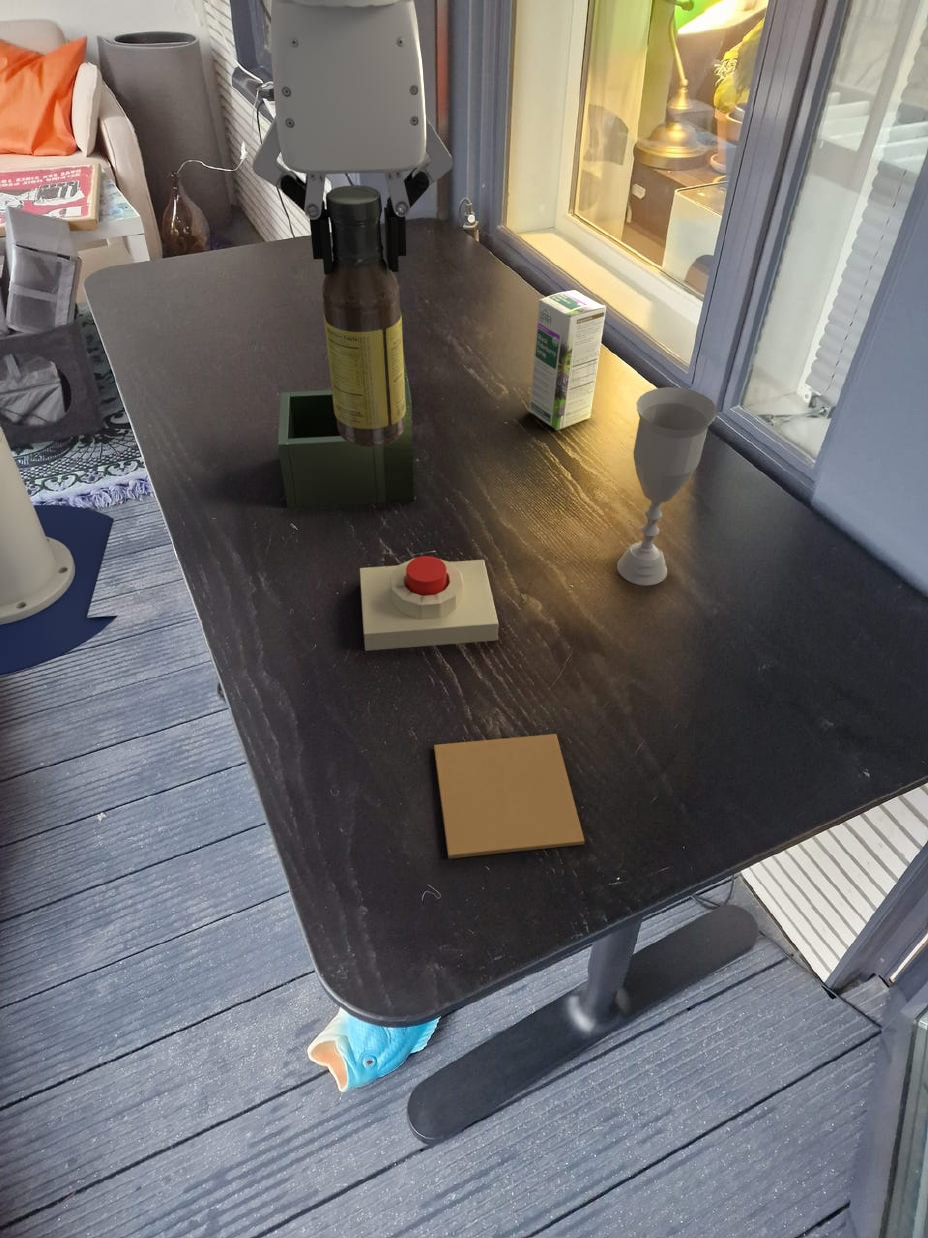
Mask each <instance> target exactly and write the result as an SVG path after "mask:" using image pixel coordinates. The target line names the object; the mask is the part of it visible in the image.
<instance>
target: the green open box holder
mask: <svg viewBox="0 0 928 1238" xmlns="http://www.w3.org/2000/svg"><path fill="white" fill-rule="evenodd" d="M403 362H404V383H405V404H406V411H405V429H404V431H403V433H402V434H401V436H400V437H399V438H398V439H397V440H396V441H394V442H392V443H390V444H387V445H383V446H378V447H361V446H358V445H355V444H352V443H350V442H348V441H346V440H344V439H343V438H342V437H341V435H340V433H339V430H338V427H337V417H336V416H335V413H334V405H333V396H332V389H325V390H324V389H323V390H303V391H301V390H299V391H281V392H280V395H279V415H278V434H277V448H278V455H279V462H280V467H281V468H280V469H281V475H282V482H283V488H284V494H285V501H286V507H287V509H299V508H300V509H301V508H316V507H317V508H318V507H331V506H332V507H333V506H349V505H351V506H353V505H367V504H384V503H402V502H403V503H404V502H414V501H415V489H414V487H415V486H414V450H413V449H414V448H413V446H414V445H413V411H412V410H413V409H412V398H411V391H410V385H409V379H408V374H407V373H408V372H407V368H406V362H405V355H404V354H403Z"/></svg>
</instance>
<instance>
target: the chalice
mask: <svg viewBox="0 0 928 1238" xmlns="http://www.w3.org/2000/svg"><path fill="white" fill-rule="evenodd" d="M636 411H637V414H638V417H639V419H638V424H637V429H636V436H635V442H634V447H633V453H632V454H633V461H634V467H635V472H636V477H637V480H638V482H639V485H640V488H641V490H642V494H643V495H644V497H645V498H646V499H647V500H649V501H651V504H650V506H649V508H648V509H647V510H646V511H645V517H646V520H647V521H646V524H645V525H643V526H641V528H640V530H641V533H642V534H643V540H642V541H637V542H635V543H633V544H631V545H629V547H628V548H627V549H626V551H625V552H624V553H623V554H622V556H621V557H620V558H619V559H618V561H617V563H616V569H617V571H618V573H619V575H620V576H621V577H622V578H623V579H624V580H626V581H627V582H629V583H631V584H635V585H638V586H653V585H657V584H659V583H662V582H663V581H664V580H665V579H666V578H667V575H668V567H667V565H666V560H665V557H664V553H663V551H662V550H661V549H660V548H659V547H658V545H656V544H654V539H655V536H658V535H659V533H660V529H659V527H658V522H659V520H660V519H661V518H663V513H662V511H661V506H662V503H666V502H669V501H670V500H672V499H673V498H674V497H675V496H676V494H678V492H679V491H681V489H682V488H683V487H684V486H685V485H686V483H688V481H689V479H691V477H692V475H693V473H694V472H695V471H696V469H697V467H698V465H699V463H700V461H701V457H702V453H703V449H704V445H705V441H706V436H707V433H708V429H709V427H710V426H711V425H712V424H713V422H714V421H715V420H716V418H717V415H718V408H717V405H716V404H715V403H714V402H713V400H712V399H710V398H709V397H708V396H706V395H705V394H703V393H700V392H698V391H695V390H692V389H688V388H683V387H672V386H665V387H660V388H654V389H651V390H648V391H645V393H643V394H642V395H640V396H639V398H638V400H636Z"/></svg>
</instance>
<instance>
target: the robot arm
mask: <svg viewBox="0 0 928 1238" xmlns="http://www.w3.org/2000/svg"><path fill="white" fill-rule="evenodd" d="M270 7H271V8H270V57H271V71H272V73H271V74H272V89H273V98H274V99H273V100H274V110H275V116H274V118H273V119H272V121H271V124H270V125H269V128H268V129H267V131H266V134H265V135H264V137H263V139H262V141H261V143H260V145H259V147H258V149H257V151H256V153H255V155H254V157H253V160H252V171H253V173H254V174H255V175H256V176H258V177H259V178H261V179H262V180H263V181H266V182H267V183H268V184H270V185H272V187H273V186H274V187H276V188H277V189H278V190H280V191H281V192H282V193H283V194H284V195H285V196H286V197H287V198H288V199H289V200H290V201H292V202H293V203H294V204H295V205H296V206H297V207H298V208H299V209H300V210H301V211H302V212H304V215H305V216H306V218H308V219H309V226H310V227H309V228H310V229H309V230H310V239H311V247H312V249H311V250H312V258H313V260H322V265H323V275H325V276H326V275H331V273H334V272H333V253H332V235H331V223H330V219H329V216H328V214H327V209H326V200H324V193H325V186H326V177H327V175H340V174H341V175H342V174H343V175H344V174H345V175H346V174H382V173H383V174H384V177H385V182H386V186H387V190H388V194H389V196H388V198H387V199H386V203H385V206H384V207H383V213H384V214H383V216H384V219H383V220H384V221H383V222H384V240H385V241H384V242H385V243H384V244H385V258H386V263H387V265H388V268H389V270H391V271H392V272H393V273H399V272H400V266H399V257H407V223H406V222H407V219H406V217H407V216H408V215H409V213H410V211H411V208H412V207H413V206H414V205H415V203H416V202H417V201H418V200H419V199H420V198H421V197H422V196H423V195H424V194H425V193H426V192H427V190H428V189H429V187H430V186H432V184H434V183H436V182H437V181H438V180H439V179H441V178H443V176H445V175H446V174H447V173H448V172H449V171H451V170H452V169H453V167H454V160H453V157H452V155H451V154H450V152H449V151H448V149H447V148H446V145H445V144H444V142H443V141H442V139H441V137H440V136H439V134H438V133H437V131H436V130H435V128H434V127H433V124H431V122H430V120H429V119H428V117H427V116H426V101H425V85H424V71H423V69H424V68H423V60H422V53H421V45H420V34H419V24H418V17H417V11H416V6H415V1H414V0H271V5H270ZM426 153H427V157H426ZM280 155H281V159H282V161H283V164H284V165H285V166H286V167H287V168H288V169H287V168H286V167H284V165H282V164H281V163H280V162H279V161H278V158H279V156H280ZM425 159H426V160H425ZM409 171H410V172H409ZM295 172H296V173H300V174H305V179H304V180H305V181H304V180H303V179H301V178H300V177H299V176H298V175H297V174H296V173H295ZM403 172H409V174H408V175H407V176H406V177H405V178H404V175H403ZM25 484H26V483H25V482H24V479H23V477H22V474H21V472H20V469H19V466H18V465H17V462H16V459H15V457H14V454H13V452H12V449H11V447H10V445H9V442H8V439H7V438H6V435H5V433H4V430H3V428H2V426H1V425H0V625H2V624H8V623H12V622H15V621H18V620H22V619H25V618H27V617H29V616H32V615H34V614H36V613H38V612H40V611H42V610H43V609H45V608H47V607H48V606H50V605H51V604H52V603H54V602H55V601H56V600H58V599H59V598H60V597H61V596H62V595H63V594H64V593H65V592H66V590H67V589H68V587H69V586H70V584H71V583H72V580H73V578H74V575H75V564H74V560H73V558H72V555H71V553H70V551H69V550H68V549H67V548H66V546H65V545H63V544H62V543H60V542H59V541H57V540H55V539H52V538H50V537H46V536H45V533H44V531H43V529H42V526H41V524H40V521H39V519H38V516H37V514H36V511H35V509H34V506H33V505H34V504H33V501H32V499H31V497H30V496H31V495H30V494H29V492H28V489H27V487H26V485H25Z"/></svg>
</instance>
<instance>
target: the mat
mask: <svg viewBox="0 0 928 1238" xmlns="http://www.w3.org/2000/svg"><path fill="white" fill-rule="evenodd" d="M560 746H561V745H560V743H559V739H558V734H557V733H550V734H540V735H529V736H517V737H507V738H505V737H504V738H496V739H486V740H485V739H484V740H474V741H462V742H452V743H441V744H440V743H439V744H433V751H434V760H435V767H436V774H437V775H436V776H437V781H438V790H439V797H440V798H439V799H440V806H441V813H442V820H443V821H442V822H443V828H444V836H445V843H446V851H447V859H458V858H460V859H461V858H469V857H478V856H487V855H496V854H504V853H506V854H507V853H515V852H525V851H535V850H545V849H554V848H555V849H556V848H563V847H572V846H581V845H584V844H585V837H584V834H583V829H582V827H581V822H580V819H579V815H578V810H577V807H576V804H575V800H574V795H573V791H572V789H571V785H570V780H569V776H568V772H567V770H566V766H565V761H564V758H563V754H562V751H561V747H560Z"/></svg>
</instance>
